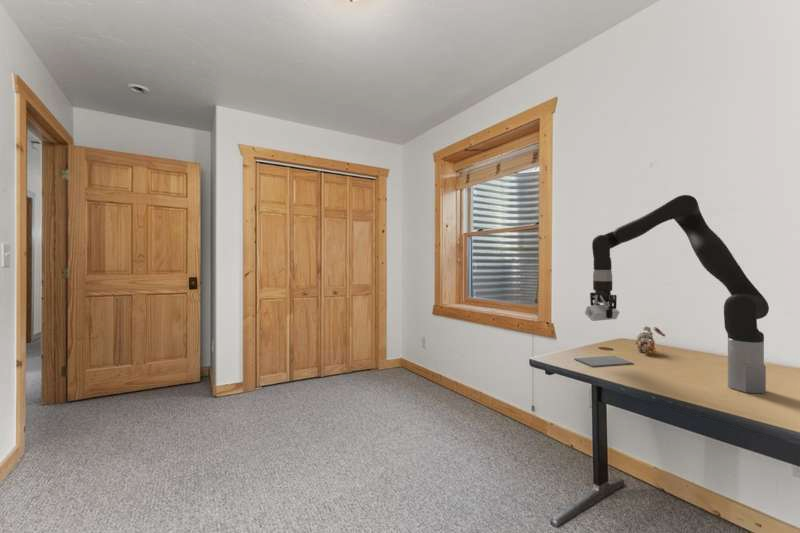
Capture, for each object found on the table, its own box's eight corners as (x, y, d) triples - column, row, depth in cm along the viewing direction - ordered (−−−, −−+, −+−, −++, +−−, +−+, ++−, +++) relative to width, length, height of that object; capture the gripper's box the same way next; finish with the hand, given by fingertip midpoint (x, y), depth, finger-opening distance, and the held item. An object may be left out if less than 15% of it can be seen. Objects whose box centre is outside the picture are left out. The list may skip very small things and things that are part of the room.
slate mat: (592, 367, 157) (592, 365, 157) (574, 359, 169) (574, 358, 169) (633, 364, 161) (633, 362, 161) (613, 356, 172) (613, 355, 172)
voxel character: (637, 357, 177) (631, 337, 189) (658, 364, 175) (651, 343, 187) (649, 340, 171) (641, 321, 183) (671, 347, 169) (662, 327, 181)
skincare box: (592, 321, 162) (616, 320, 164) (595, 313, 160) (620, 312, 162) (584, 312, 167) (608, 311, 169) (587, 304, 165) (611, 303, 167)
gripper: (622, 280, 158) (622, 319, 158) (599, 279, 172) (599, 314, 172) (606, 281, 157) (607, 319, 157) (584, 279, 171) (584, 315, 171)
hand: (603, 316), depth 164 cm, fingers closed on skincare box, 7 cm apart
